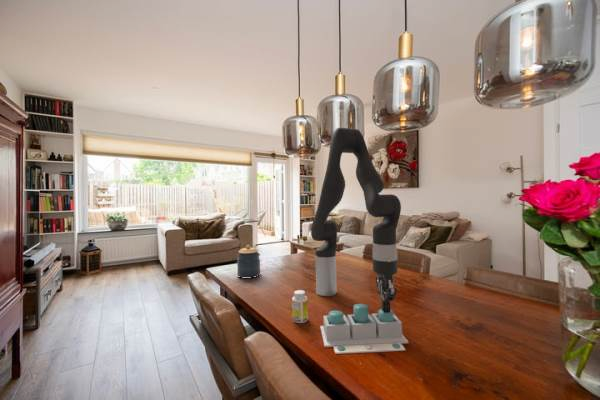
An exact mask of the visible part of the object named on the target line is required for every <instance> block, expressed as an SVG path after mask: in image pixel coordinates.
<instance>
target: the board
mask: <svg viewBox="0 0 600 400" xmlns="http://www.w3.org/2000/svg"><path fill="white" fill-rule="evenodd" d="M368 315H369V323H355V322H354V313H353V314H347V316H346V315H345V314H343V323H344V324H330V325H329V315H323V325H320V326H319V328H320V332H321V337H322V340H323V346H324V347H325V348H333V346H348V345H369V344H390V343H401V344H402V345H403V344H409V340H408V339H407V338H406V337H405V336H404V334H403V325H402V324H403V323H402V321H401V320H400V319H399V318H398V317H397V316H396V314H394V322H380V321H379V318H378V312H377V313H371V314H370V313H368Z"/></svg>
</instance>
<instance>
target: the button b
mask: <svg viewBox="0 0 600 400" xmlns="http://www.w3.org/2000/svg"><path fill="white" fill-rule="evenodd" d="M353 314H354V322H355V323H369V315H368V314H369V306H368V305H367V304H366V303H365V304H364V303H356V304H354V305H353Z"/></svg>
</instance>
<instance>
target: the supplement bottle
mask: <svg viewBox="0 0 600 400" xmlns="http://www.w3.org/2000/svg"><path fill="white" fill-rule="evenodd" d="M291 302H292V303H291V307H292V309H291V311H292V321H293V322H295V323H297V324H304V323H306V322H308V320H309V311H308V310H309V308H308V307H309V302H308V297H307V296H306V291H305V290H302V289H299V290H295V291H293V296H292V298H291Z"/></svg>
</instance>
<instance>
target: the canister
mask: <svg viewBox="0 0 600 400" xmlns="http://www.w3.org/2000/svg"><path fill="white" fill-rule="evenodd" d="M260 256H261V254H260V253H259V249H257V248H256V247H251V245H250V244H247V245H245V247H243V248H240V249H239V250H238V254H237V255H236V257H237V261H236V264H237V273H236V274H237V277H238V276H240V277H254V276H257V275H259V274H260V275H261V259H260ZM260 275H259V276H260Z"/></svg>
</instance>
